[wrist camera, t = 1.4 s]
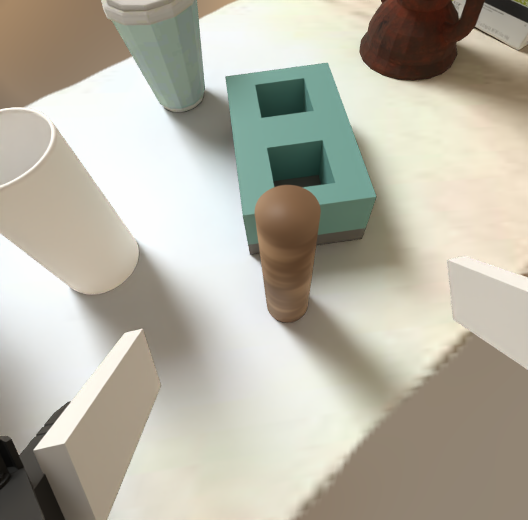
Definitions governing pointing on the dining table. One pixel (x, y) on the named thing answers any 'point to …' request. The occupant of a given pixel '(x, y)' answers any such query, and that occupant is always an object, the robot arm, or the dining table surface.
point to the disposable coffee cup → (163, 47)
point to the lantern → (416, 37)
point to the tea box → (502, 20)
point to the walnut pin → (287, 248)
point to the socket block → (299, 148)
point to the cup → (59, 207)
